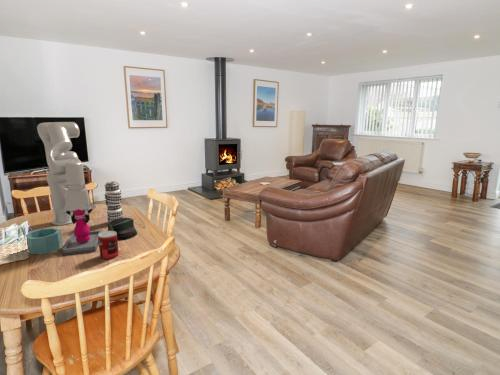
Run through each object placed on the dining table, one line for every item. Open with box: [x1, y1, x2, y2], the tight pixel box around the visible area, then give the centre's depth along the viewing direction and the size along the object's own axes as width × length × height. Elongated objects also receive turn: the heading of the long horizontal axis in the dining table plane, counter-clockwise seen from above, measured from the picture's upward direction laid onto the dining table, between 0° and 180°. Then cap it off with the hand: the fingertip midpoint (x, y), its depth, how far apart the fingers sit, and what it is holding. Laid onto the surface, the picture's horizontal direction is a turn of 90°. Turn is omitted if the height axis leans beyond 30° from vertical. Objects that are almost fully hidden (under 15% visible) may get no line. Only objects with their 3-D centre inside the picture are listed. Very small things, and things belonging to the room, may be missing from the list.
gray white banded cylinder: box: [104, 181, 124, 224], centre depth 182 cm, size 9×9×25 cm
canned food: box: [98, 230, 120, 260], centre depth 140 cm, size 8×8×11 cm
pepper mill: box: [73, 209, 91, 242], centre depth 151 cm, size 7×7×20 cm
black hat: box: [106, 217, 138, 242], centre depth 165 cm, size 20×20×9 cm
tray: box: [61, 229, 103, 256], centre depth 154 cm, size 22×14×3 cm, turn 18°
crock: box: [25, 227, 63, 256], centre depth 148 cm, size 14×14×8 cm
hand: (81, 222), depth 151 cm, fingers closed on pepper mill, 5 cm apart
